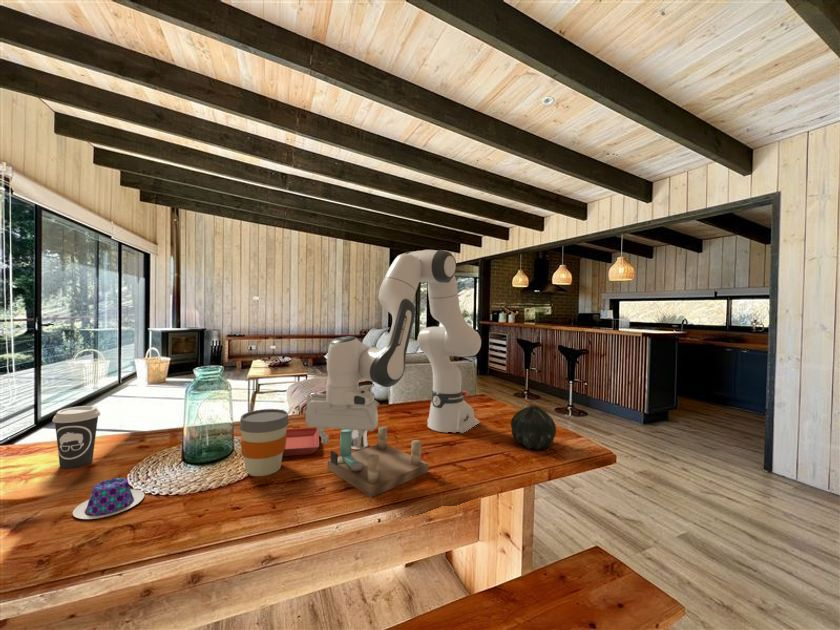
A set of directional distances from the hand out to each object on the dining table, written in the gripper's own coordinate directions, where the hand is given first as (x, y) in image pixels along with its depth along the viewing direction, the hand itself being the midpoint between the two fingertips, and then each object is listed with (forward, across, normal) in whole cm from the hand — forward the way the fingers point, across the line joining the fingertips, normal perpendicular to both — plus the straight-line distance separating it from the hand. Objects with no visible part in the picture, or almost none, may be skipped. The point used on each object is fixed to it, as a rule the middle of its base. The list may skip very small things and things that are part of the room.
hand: (341, 443), depth 99 cm
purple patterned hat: (+8, -44, -26) cm, 52 cm away
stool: (+7, +10, +1) cm, 13 cm away
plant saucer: (+8, -21, +13) cm, 26 cm away
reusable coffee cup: (+8, -21, -3) cm, 23 cm away
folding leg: (+4, +4, -2) cm, 6 cm away
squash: (+8, +59, +29) cm, 66 cm away
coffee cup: (+7, -72, -9) cm, 73 cm away
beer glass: (+8, 0, +17) cm, 19 cm away
